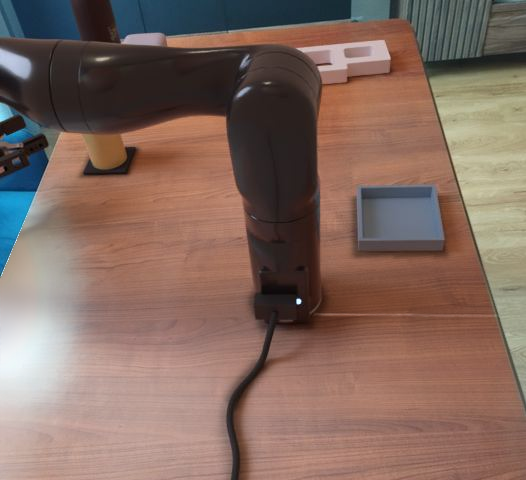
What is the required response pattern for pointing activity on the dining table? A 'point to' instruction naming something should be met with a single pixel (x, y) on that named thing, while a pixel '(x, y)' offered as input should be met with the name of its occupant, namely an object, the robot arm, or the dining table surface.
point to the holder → (350, 59)
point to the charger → (146, 39)
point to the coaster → (118, 170)
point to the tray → (399, 218)
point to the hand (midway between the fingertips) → (34, 129)
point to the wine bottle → (95, 20)
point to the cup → (105, 150)
